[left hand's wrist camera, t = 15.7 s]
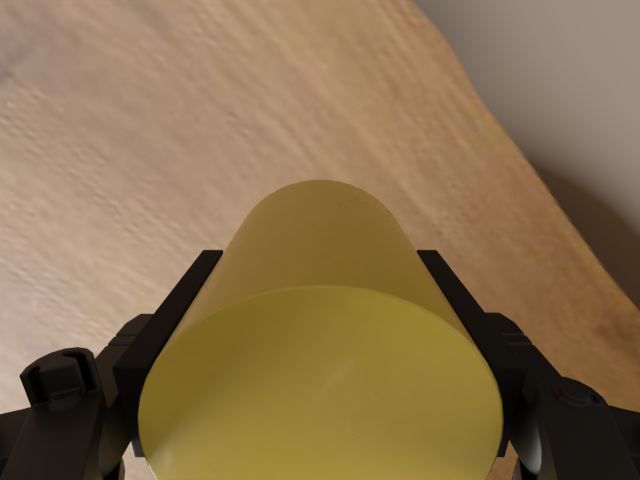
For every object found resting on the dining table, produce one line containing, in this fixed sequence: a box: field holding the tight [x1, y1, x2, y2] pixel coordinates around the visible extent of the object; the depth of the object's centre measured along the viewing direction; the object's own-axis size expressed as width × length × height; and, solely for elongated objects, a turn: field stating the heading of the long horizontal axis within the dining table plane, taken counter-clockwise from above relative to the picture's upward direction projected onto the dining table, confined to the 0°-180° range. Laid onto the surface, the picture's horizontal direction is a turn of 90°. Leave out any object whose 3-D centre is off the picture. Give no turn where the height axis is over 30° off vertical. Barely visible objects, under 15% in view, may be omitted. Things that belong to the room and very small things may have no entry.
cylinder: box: [138, 180, 504, 480], centre depth 11 cm, size 8×8×9 cm
